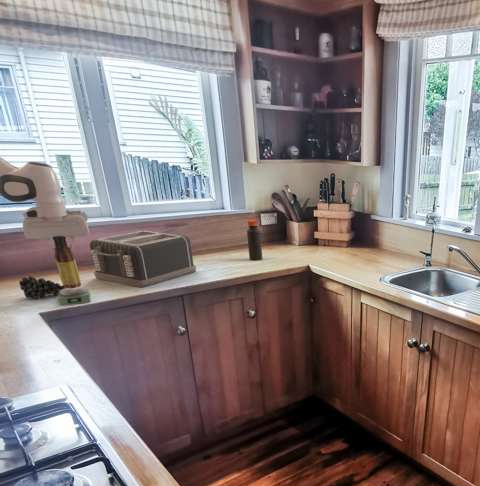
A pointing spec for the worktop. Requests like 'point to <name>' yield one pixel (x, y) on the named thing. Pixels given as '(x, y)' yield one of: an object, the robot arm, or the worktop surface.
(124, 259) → the toaster
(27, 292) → the fruit
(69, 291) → the scale pan
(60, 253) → the sauce bottle
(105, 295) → the worktop surface
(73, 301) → the scale
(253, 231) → the vinegar
